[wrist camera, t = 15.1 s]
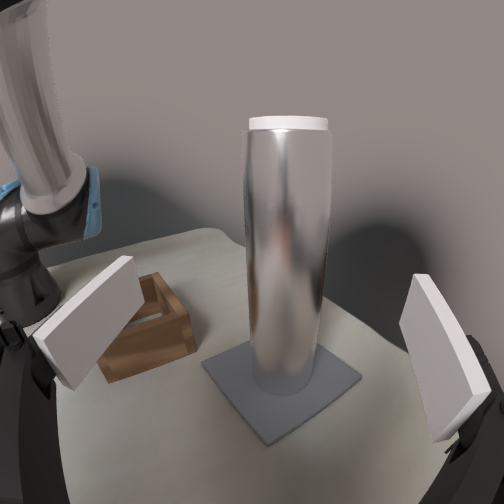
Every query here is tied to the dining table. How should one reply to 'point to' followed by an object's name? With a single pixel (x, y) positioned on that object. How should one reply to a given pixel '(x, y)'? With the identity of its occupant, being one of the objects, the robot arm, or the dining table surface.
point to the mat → (278, 406)
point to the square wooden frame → (150, 334)
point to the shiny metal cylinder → (285, 244)
